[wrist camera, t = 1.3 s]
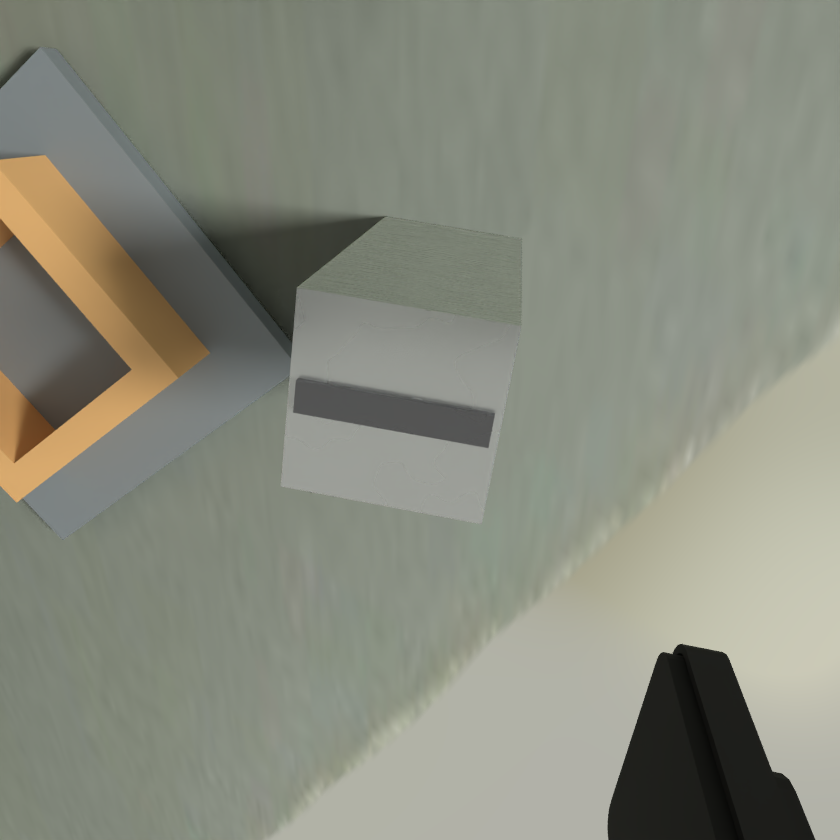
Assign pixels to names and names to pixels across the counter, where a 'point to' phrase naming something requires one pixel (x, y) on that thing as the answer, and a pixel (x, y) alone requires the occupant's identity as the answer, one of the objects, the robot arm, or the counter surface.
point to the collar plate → (107, 308)
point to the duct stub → (404, 368)
